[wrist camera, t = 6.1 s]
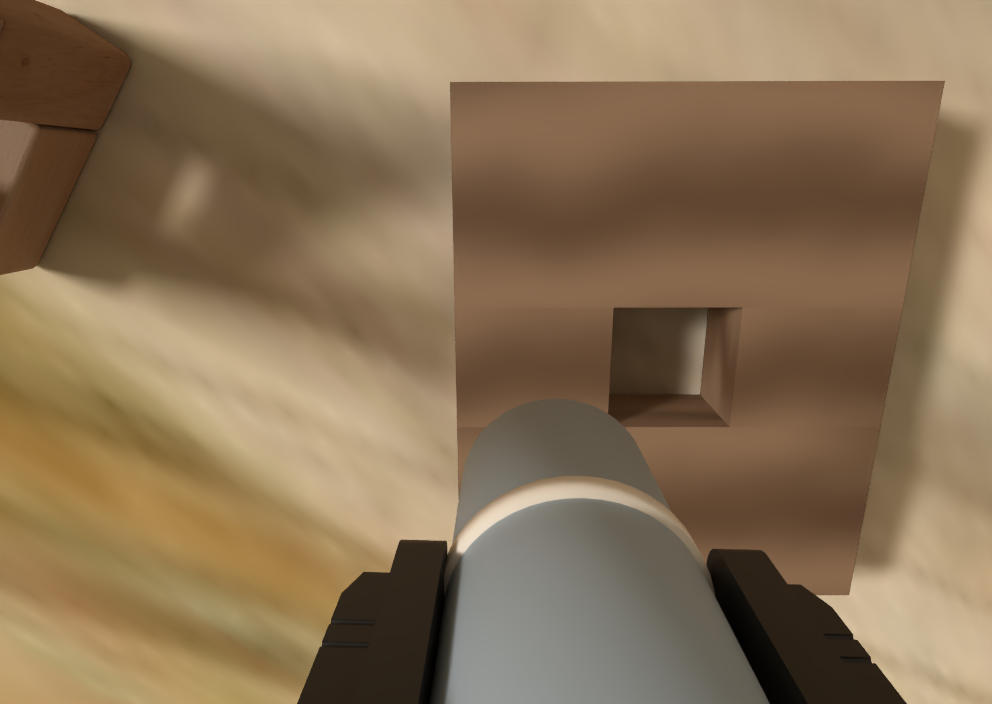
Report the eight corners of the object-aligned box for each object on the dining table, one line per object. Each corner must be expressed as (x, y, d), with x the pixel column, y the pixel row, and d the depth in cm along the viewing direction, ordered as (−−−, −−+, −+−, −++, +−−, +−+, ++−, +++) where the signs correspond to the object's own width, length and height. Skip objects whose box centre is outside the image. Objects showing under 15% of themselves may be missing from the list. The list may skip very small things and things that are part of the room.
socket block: (457, 95, 26) (450, 82, 23) (879, 94, 26) (944, 80, 22) (465, 544, 32) (460, 594, 29) (807, 545, 32) (848, 595, 29)
